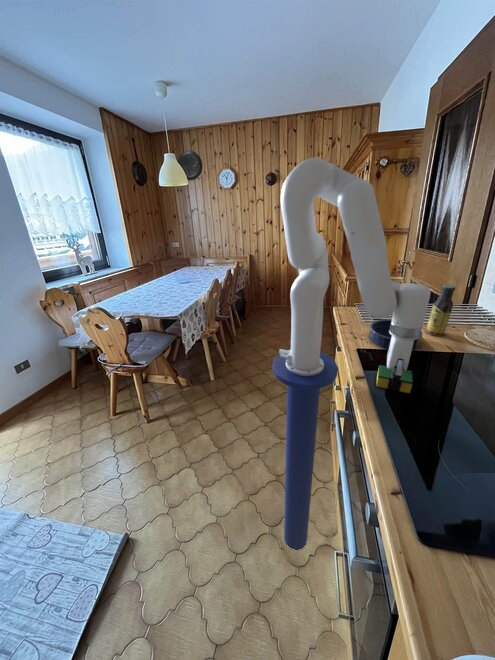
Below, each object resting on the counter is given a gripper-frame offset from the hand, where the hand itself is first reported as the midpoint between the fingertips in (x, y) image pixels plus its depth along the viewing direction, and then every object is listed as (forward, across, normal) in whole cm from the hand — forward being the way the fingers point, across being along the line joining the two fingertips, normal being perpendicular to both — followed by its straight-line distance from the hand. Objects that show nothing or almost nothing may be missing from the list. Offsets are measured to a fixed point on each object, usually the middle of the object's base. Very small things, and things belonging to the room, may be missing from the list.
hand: (393, 381), depth 85 cm
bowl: (+1, -29, 0) cm, 29 cm away
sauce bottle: (+1, -41, +15) cm, 44 cm away
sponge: (+1, 0, 0) cm, 1 cm away
